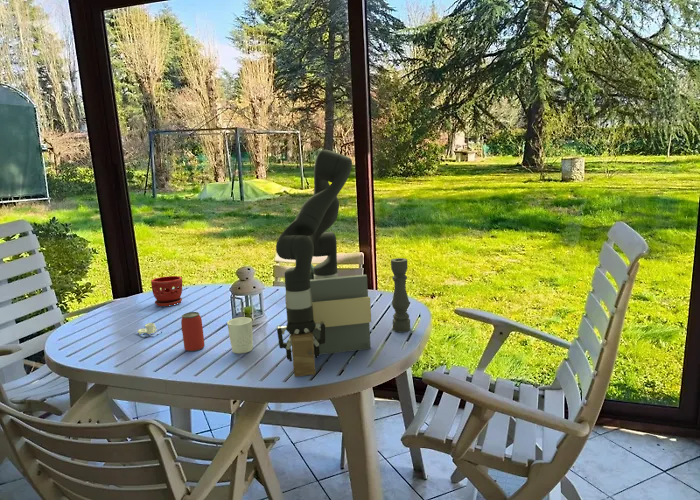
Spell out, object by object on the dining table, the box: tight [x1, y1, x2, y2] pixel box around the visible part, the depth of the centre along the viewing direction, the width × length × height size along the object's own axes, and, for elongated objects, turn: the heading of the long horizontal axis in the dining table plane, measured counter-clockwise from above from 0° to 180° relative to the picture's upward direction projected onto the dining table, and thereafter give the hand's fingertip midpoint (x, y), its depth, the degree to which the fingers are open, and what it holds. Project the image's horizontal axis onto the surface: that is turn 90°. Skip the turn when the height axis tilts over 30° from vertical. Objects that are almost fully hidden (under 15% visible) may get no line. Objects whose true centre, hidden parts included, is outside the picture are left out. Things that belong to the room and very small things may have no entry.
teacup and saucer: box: [137, 322, 157, 335], centre depth 182 cm, size 9×8×4 cm
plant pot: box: [150, 275, 183, 307], centre depth 220 cm, size 13×13×12 cm
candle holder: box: [390, 257, 411, 333], centre depth 170 cm, size 6×6×25 cm
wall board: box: [310, 274, 372, 356], centre depth 154 cm, size 12×24×24 cm, turn 99°
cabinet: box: [291, 332, 317, 378], centre depth 142 cm, size 10×6×12 cm, turn 9°
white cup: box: [226, 316, 254, 355], centre depth 161 cm, size 8×8×10 cm
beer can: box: [180, 311, 205, 352], centre depth 164 cm, size 7×7×12 cm
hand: (303, 358), depth 142 cm, fingers open, 7 cm apart
